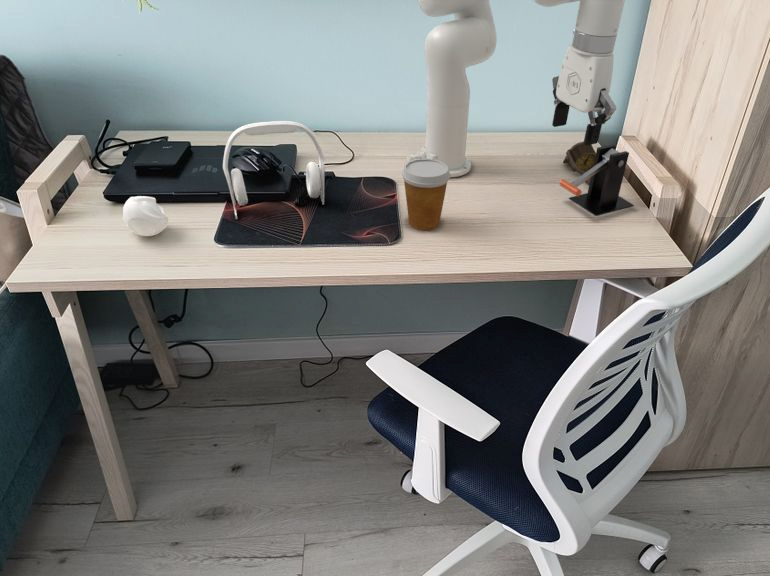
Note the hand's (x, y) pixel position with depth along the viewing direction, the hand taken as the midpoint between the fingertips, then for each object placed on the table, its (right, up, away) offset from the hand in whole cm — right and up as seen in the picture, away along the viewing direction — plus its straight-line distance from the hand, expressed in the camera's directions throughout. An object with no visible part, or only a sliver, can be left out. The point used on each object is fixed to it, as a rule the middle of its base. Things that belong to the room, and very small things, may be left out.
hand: (574, 134), depth 126 cm
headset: (-60, -13, +7) cm, 62 cm away
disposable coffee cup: (-30, -17, +5) cm, 35 cm away
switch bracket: (+9, -11, +14) cm, 20 cm away
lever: (+6, -6, +8) cm, 11 cm away
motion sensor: (-83, -20, -3) cm, 85 cm away
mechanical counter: (+8, -2, +26) cm, 27 cm away
